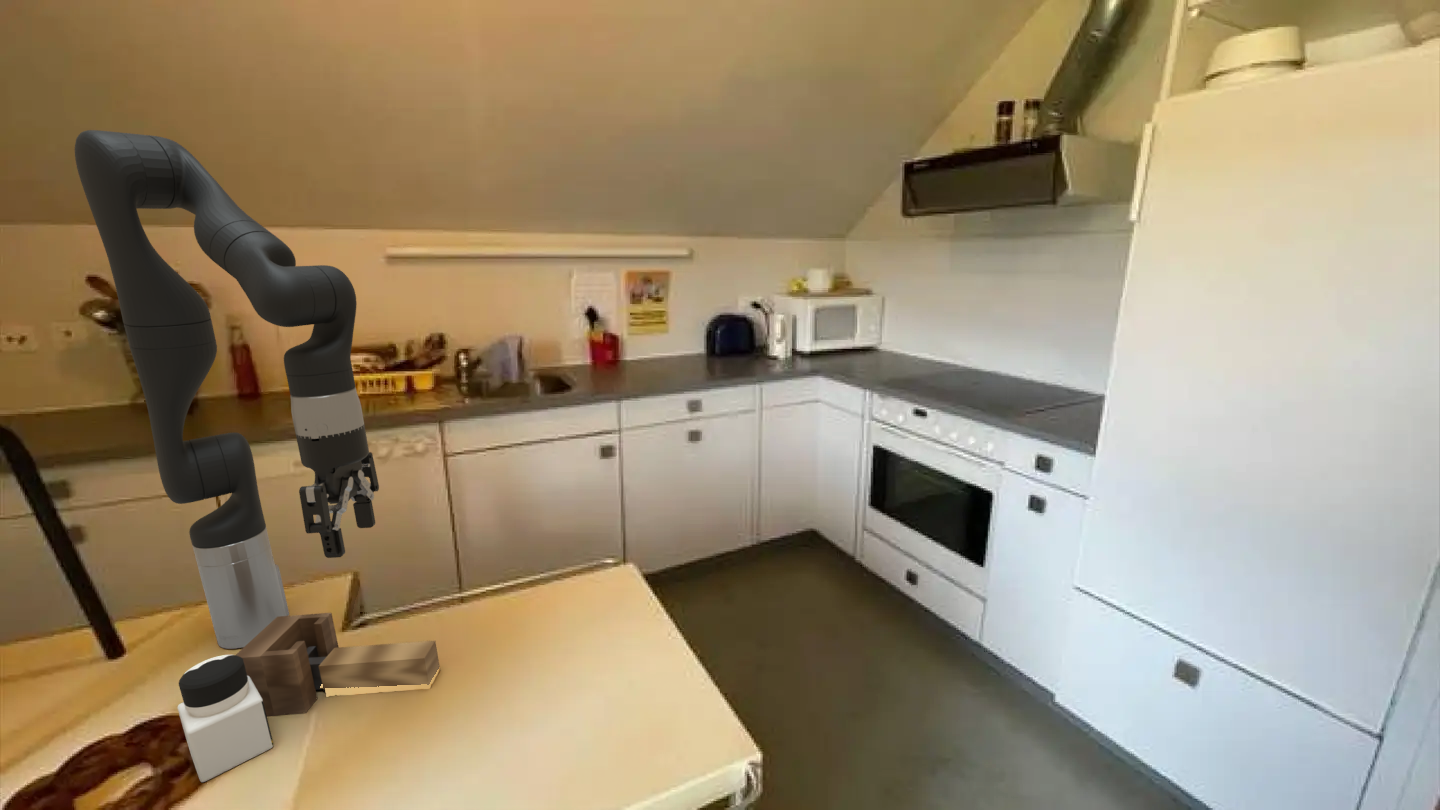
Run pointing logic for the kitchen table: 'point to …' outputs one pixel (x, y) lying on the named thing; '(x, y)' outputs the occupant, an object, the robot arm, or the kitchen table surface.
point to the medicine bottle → (222, 715)
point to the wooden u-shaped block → (288, 660)
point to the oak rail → (375, 665)
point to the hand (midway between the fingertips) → (351, 540)
